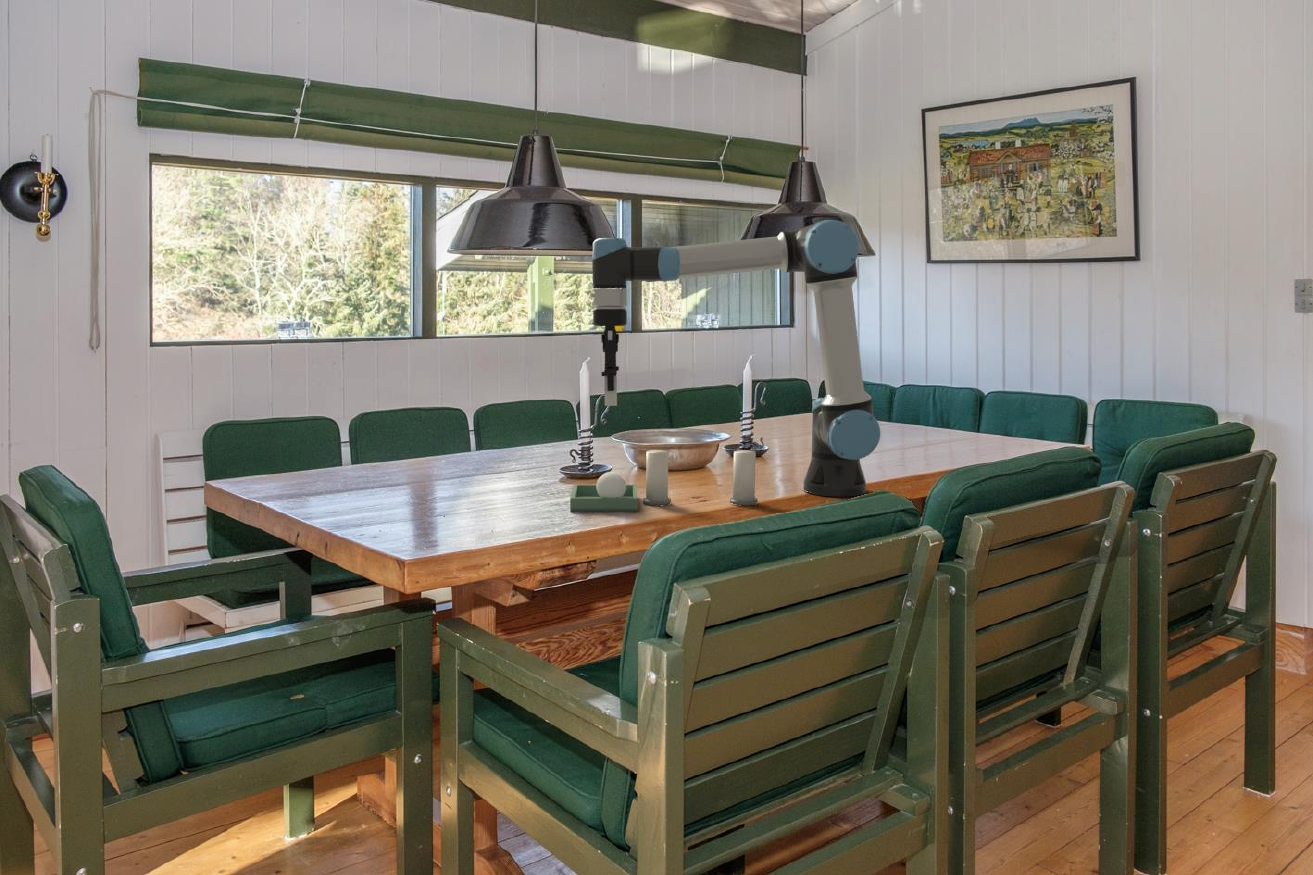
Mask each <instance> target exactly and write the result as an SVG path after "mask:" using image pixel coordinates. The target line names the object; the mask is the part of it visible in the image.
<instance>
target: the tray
mask: <svg viewBox="0 0 1313 875" xmlns="http://www.w3.org/2000/svg"><path fill="white" fill-rule="evenodd" d="M596 486H597V484H573V486H572V491H571V494H570V499H569V500H570V508H569V509H570V513H572V512H573V513H575V512H576V513H577V512H579V513H589V512H592V513H595V512H596V513H604V512H605V513H607V512H608V513H616V512H617V513H622V512H623V513H626V512H628V513H637V512H638V507H639V506H638V505H639V504H638V499H639V498H638V486H637V484H626V491H625V493H624V495H623V496H622V497H621V498H600V497H599V494H598V492H597V488H596Z"/></svg>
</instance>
